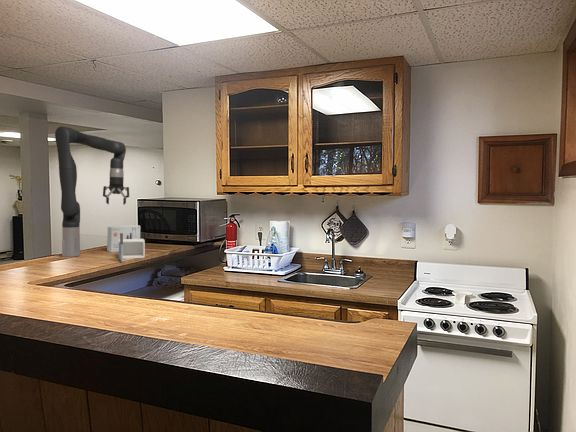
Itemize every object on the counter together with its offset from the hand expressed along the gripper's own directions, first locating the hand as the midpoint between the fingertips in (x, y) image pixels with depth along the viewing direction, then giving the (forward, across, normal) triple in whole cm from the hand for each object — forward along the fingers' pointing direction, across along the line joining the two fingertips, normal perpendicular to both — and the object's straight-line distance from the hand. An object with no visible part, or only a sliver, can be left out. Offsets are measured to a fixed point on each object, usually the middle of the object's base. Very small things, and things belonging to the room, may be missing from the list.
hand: (116, 204), depth 256 cm
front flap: (+31, -3, +11) cm, 33 cm away
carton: (+31, -9, -2) cm, 32 cm away
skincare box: (+31, -6, -29) cm, 43 cm away
